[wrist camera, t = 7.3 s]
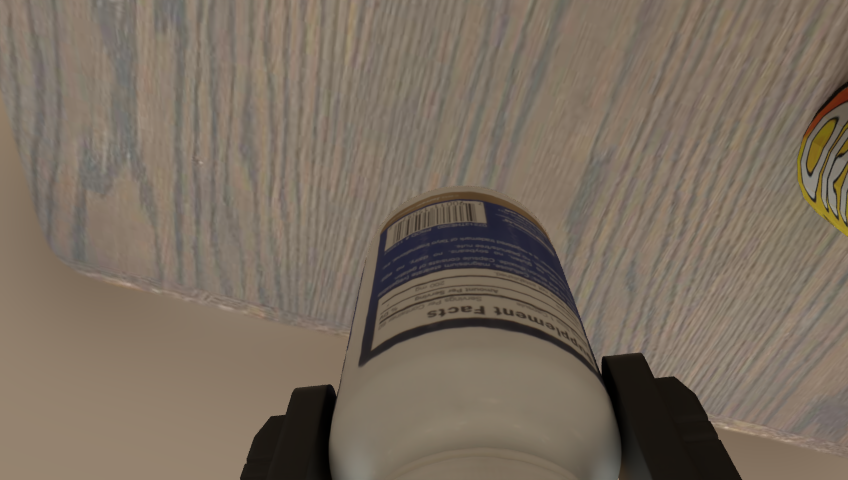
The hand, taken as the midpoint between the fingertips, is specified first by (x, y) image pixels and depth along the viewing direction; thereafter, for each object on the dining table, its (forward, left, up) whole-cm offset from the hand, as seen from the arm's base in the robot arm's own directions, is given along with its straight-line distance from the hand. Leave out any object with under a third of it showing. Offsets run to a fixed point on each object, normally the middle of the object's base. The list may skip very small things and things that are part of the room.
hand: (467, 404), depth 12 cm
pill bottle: (0, 0, -6) cm, 6 cm away
